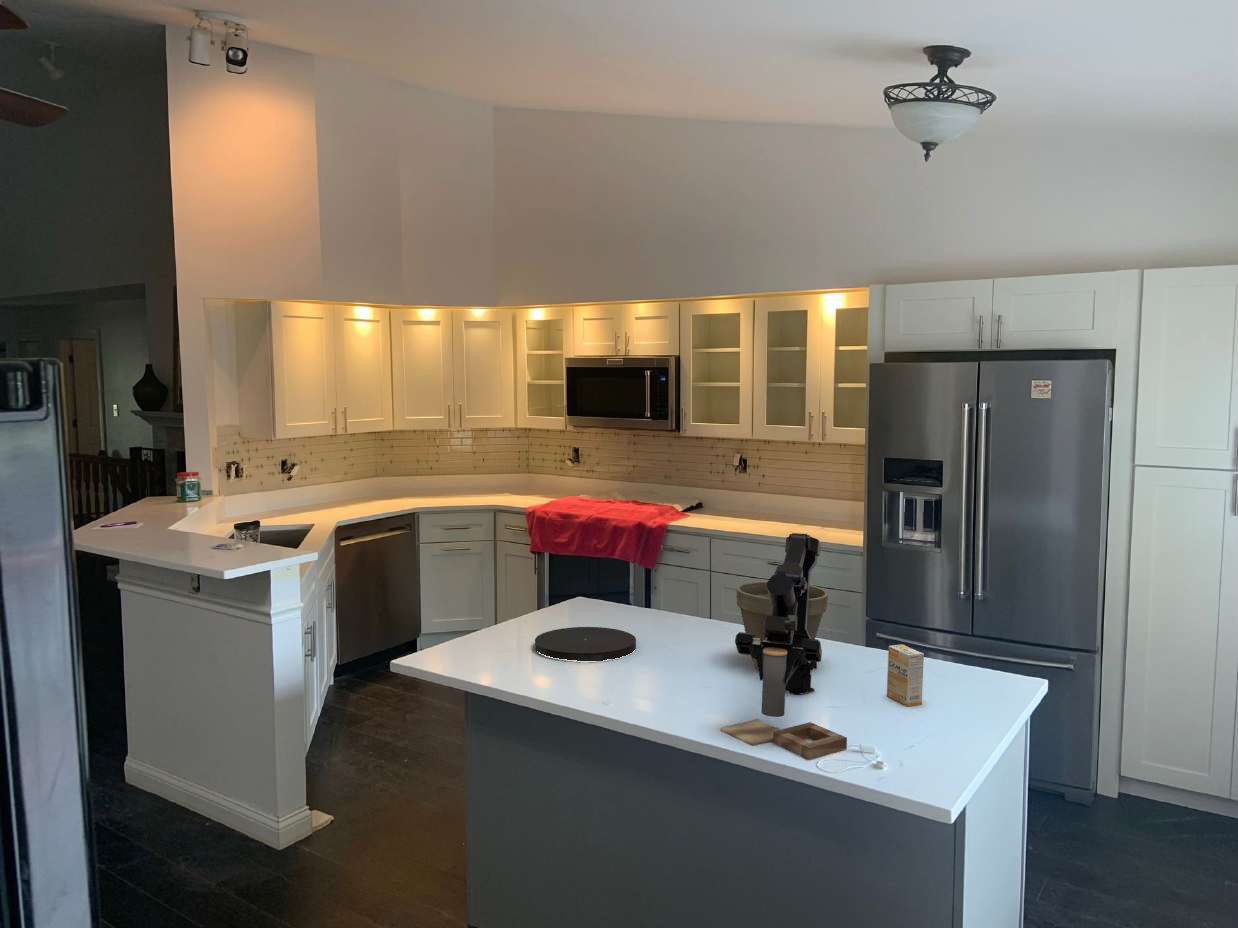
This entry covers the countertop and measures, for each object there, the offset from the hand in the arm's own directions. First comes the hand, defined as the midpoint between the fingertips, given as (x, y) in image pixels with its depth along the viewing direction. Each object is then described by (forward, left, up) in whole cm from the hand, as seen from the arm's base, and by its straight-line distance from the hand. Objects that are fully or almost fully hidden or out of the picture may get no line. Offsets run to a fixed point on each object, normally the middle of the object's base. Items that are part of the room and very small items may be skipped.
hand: (772, 681), depth 203 cm
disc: (-84, +3, -14) cm, 85 cm away
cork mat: (-5, 0, -13) cm, 14 cm away
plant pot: (-40, +40, -13) cm, 58 cm away
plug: (-1, +1, -7) cm, 8 cm away
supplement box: (-2, +46, -13) cm, 48 cm away
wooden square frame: (+7, +5, -13) cm, 16 cm away
